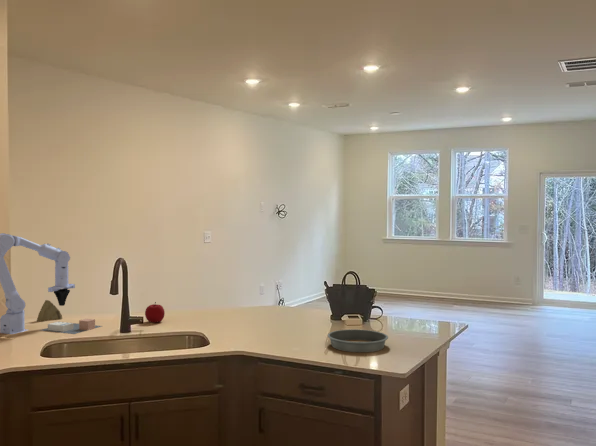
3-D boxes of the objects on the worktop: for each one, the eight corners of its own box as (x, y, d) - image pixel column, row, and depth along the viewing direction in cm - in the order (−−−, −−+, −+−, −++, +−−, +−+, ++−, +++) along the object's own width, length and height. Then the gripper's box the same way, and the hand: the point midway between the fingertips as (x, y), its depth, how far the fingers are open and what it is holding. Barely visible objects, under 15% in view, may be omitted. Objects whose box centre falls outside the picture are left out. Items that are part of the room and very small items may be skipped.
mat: (74, 335, 243) (74, 334, 243) (39, 331, 250) (39, 330, 250) (102, 327, 260) (102, 326, 260) (68, 323, 267) (68, 322, 267)
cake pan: (399, 345, 229) (399, 335, 229) (365, 357, 211) (365, 345, 211) (351, 336, 246) (351, 326, 245) (315, 346, 227) (315, 335, 227)
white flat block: (63, 331, 248) (63, 325, 248) (47, 329, 251) (47, 323, 251) (73, 328, 253) (73, 322, 253) (57, 327, 256) (57, 321, 256)
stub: (88, 330, 251) (88, 321, 251) (79, 329, 253) (79, 320, 252) (95, 328, 255) (95, 319, 255) (86, 327, 257) (86, 318, 257)
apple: (167, 320, 277) (167, 300, 277) (160, 324, 268) (160, 303, 268) (149, 319, 278) (149, 299, 278) (142, 323, 269) (142, 302, 269)
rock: (68, 314, 279) (52, 310, 283) (62, 302, 274) (46, 298, 277) (54, 330, 272) (38, 326, 275) (47, 318, 266) (31, 314, 270)
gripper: (56, 278, 252) (56, 308, 252) (79, 275, 266) (79, 303, 266) (44, 277, 255) (44, 307, 255) (68, 274, 268) (68, 302, 268)
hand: (61, 305), depth 261 cm, fingers closed
